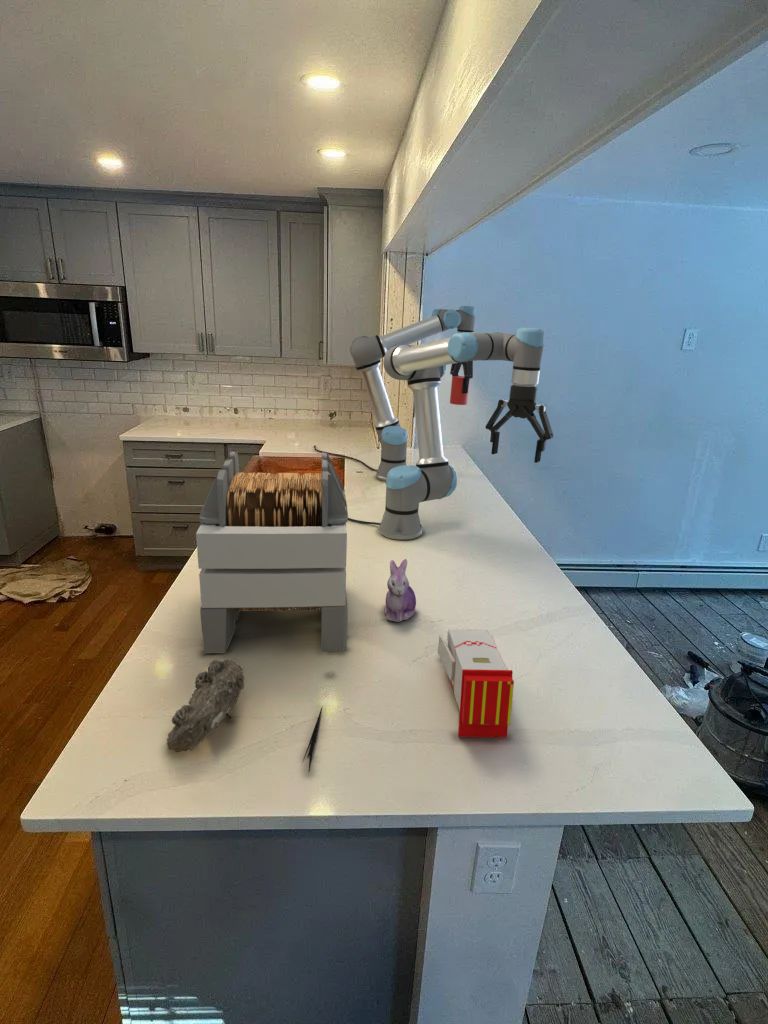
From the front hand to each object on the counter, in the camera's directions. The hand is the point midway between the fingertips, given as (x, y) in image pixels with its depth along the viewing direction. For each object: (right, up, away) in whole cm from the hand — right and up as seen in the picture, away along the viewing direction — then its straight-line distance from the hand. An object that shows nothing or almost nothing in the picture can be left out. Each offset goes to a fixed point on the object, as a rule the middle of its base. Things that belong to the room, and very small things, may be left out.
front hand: (515, 457), depth 168 cm
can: (-4, +35, +101) cm, 107 cm away
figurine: (-35, -43, -21) cm, 59 cm away
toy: (-21, -54, -50) cm, 76 cm away
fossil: (-72, -55, -60) cm, 109 cm away
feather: (-51, -56, -60) cm, 97 cm away
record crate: (-65, -43, -24) cm, 82 cm away
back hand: (-3, +41, +99) cm, 107 cm away
